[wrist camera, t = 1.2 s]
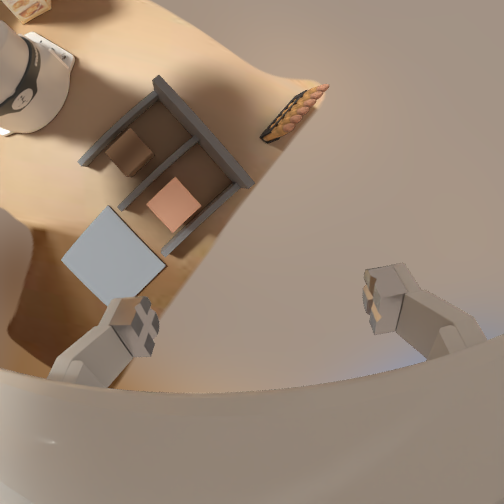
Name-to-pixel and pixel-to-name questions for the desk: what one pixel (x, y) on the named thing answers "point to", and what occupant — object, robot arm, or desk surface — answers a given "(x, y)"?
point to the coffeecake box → (27, 8)
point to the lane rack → (177, 154)
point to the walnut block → (129, 153)
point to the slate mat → (112, 259)
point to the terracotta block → (173, 204)
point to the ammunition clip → (292, 113)
